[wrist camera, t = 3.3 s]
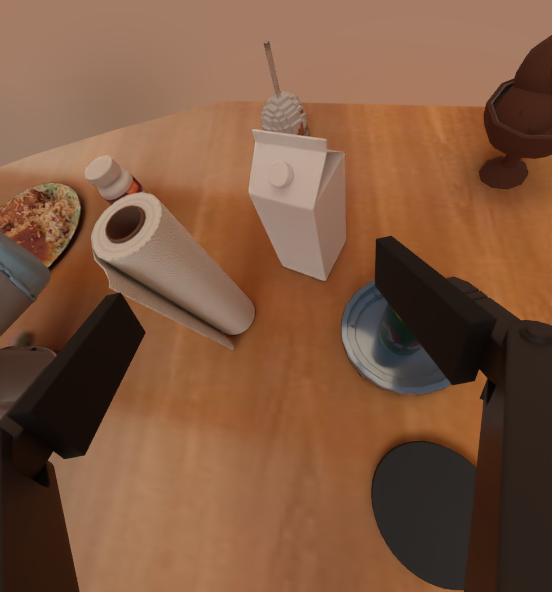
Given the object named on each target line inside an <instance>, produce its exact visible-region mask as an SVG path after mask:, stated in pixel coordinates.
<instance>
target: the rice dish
mask: <svg viewBox="0 0 552 592" xmlns="http://www.w3.org/2000/svg"><path fill="white" fill-rule="evenodd" d="M80 214H81V203H80V200H79V197H78V194H76V192H75V191H74V190H73V189H71V188H70V187H68V185H65V184H60V183H48V184H42V185H39V186H35V187H33V188H30V189H27V190H26V191H23V192H22V193H21V194H18V195H16V196H15V197H14V198H13V199H10V200H9V201H8V202H6V203H5V205H2V207H1V208H0V232H2V233H3V234H5V235H6V236H8V237H9V238H10V239H12V240H13V241H15V242H16V243H18V244H19V245H20V246H22V247H23V248H24V249H26V250H27V251H29V252H30V253H31V254H33V255H34V256H35V257H36V258H38V259H39V260H40V261H41V262H42V263H43V264H45V265H46V267H47V268H48V267H50V265H51V264H52V263H53V262H54V261H55V260H56V258H57V257H58V256H59V255H60V254H61V253H62V252H63V251H65V250H64V249H65V248H66V247H67V245H68V244H69V242H70V240H71V239H72V237H73V235H74V231H75V230H76V228H77V227H78V225H79V223H78V222H79V220H80Z"/></svg>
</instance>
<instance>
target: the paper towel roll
mask: <svg viewBox="0 0 552 592" xmlns="http://www.w3.org/2000/svg"><path fill="white" fill-rule="evenodd" d="M91 241H92V249H93V254H94V259H95V261H96V262H97V263H98V264H99V265H100V266H101V267H102V268H103V269H104V271H105V273H106V275H107V277H108V279H109V288H110V289H112V290H114V291H116V292H118V293H121V294H122V295H124V296H126V297H128V298H130V299H132V300H134V301H136V302H138V303H140V304H142V305H144V306H146V307H148V308H150V309H152V310H154V311H156V312H158V313H160V314H162V315H164V316H166V317H168V318H170V319H172V320H174V321H176V322H178V323H180V324H182V325H184V326H186V327H188V328H190V329H192V330H194V331H196V332H198V333H200V334H202V335H204V336H206V337H208V338H210V339H212V340H214V341H216V342H218V343H220V344H222V345H224V346H226V347H228V348H230V349H232V350H234V347H233V345H232V343H231V342H230V340H228V339H227V338H226V337H225V336H224V335H223V334H222V332H223V333H226V334H228V335H237V334H240V333H242V332H244V331H246V330H247V329H248V328H249V327H250V326H251V324H252V322H253V320H254V317H255V308H254V306H253V303H252V301H251V300H250V299H249V298H248V297H247V296H246V295H245V294H244V293H243V292H242V290H241V289H240V288H239V287H238V286H237V285H236V284H235V283H234V282H233V281H232V280H231V278H230V277H229V276H228V275H227V274H226V273H225V272H224V271H223V270H222V269H221V267H220V266H219V265H218V264H217V263H216V262H215V261H214V260H213V259H212V258H211V256H210V255H209V254H208V253H207V252H206V251H205V250H204V249H203V248H202V247H201V246H200V244H199V243H198V242H197V241H196V240H195V239H194V238H193V237H192V236H191V235H190V233H189V232H188V231H187V230H186V229H185V228H184V227H183V226H182V225H181V224H180V222H179V221H178V220H177V219H176V218H175V217H174V216H173V215H172V214H171V213H170V212H169V210H168V209H167V208H166V207H165V206H164V205H163V204H162V203H161V202H160V201H159V200H158V199H157V198H156V197H155V196H154V195H152V194H148V193H142V192H140V193H135V194H130V195H127V196H125V197H123V198H121V199H119V200H118V201H116V202H114V203H113V204H112V205H111V206H110V207H109V208H108V209H106V210H105V211H104V212H103V214H102V215H101V217H100V218H99V219H98V221H97V222H96V224H95V226H94V229H93V232H92V235H91Z"/></svg>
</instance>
